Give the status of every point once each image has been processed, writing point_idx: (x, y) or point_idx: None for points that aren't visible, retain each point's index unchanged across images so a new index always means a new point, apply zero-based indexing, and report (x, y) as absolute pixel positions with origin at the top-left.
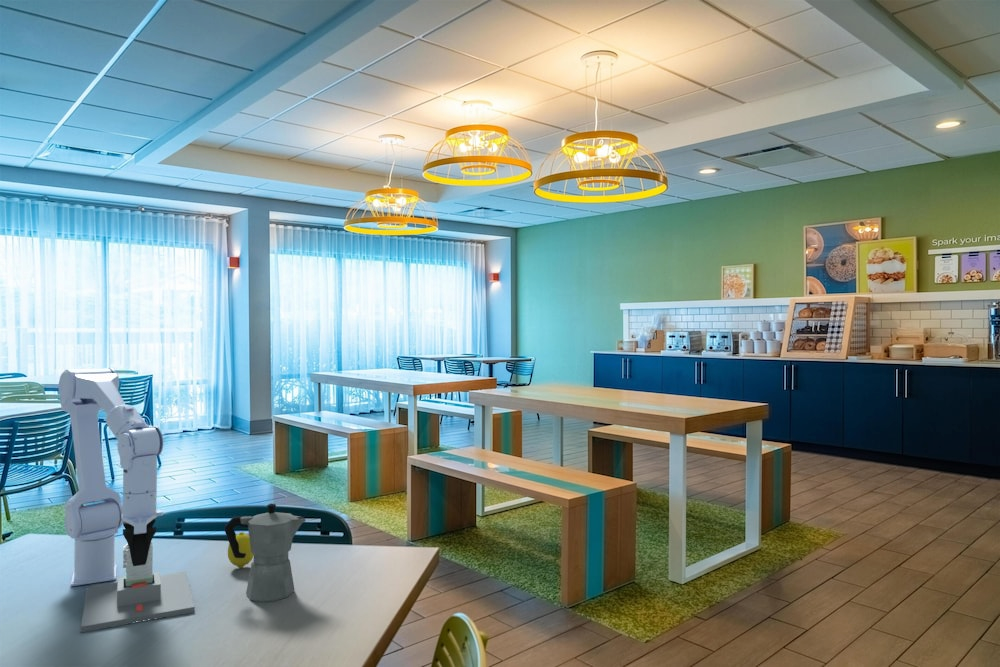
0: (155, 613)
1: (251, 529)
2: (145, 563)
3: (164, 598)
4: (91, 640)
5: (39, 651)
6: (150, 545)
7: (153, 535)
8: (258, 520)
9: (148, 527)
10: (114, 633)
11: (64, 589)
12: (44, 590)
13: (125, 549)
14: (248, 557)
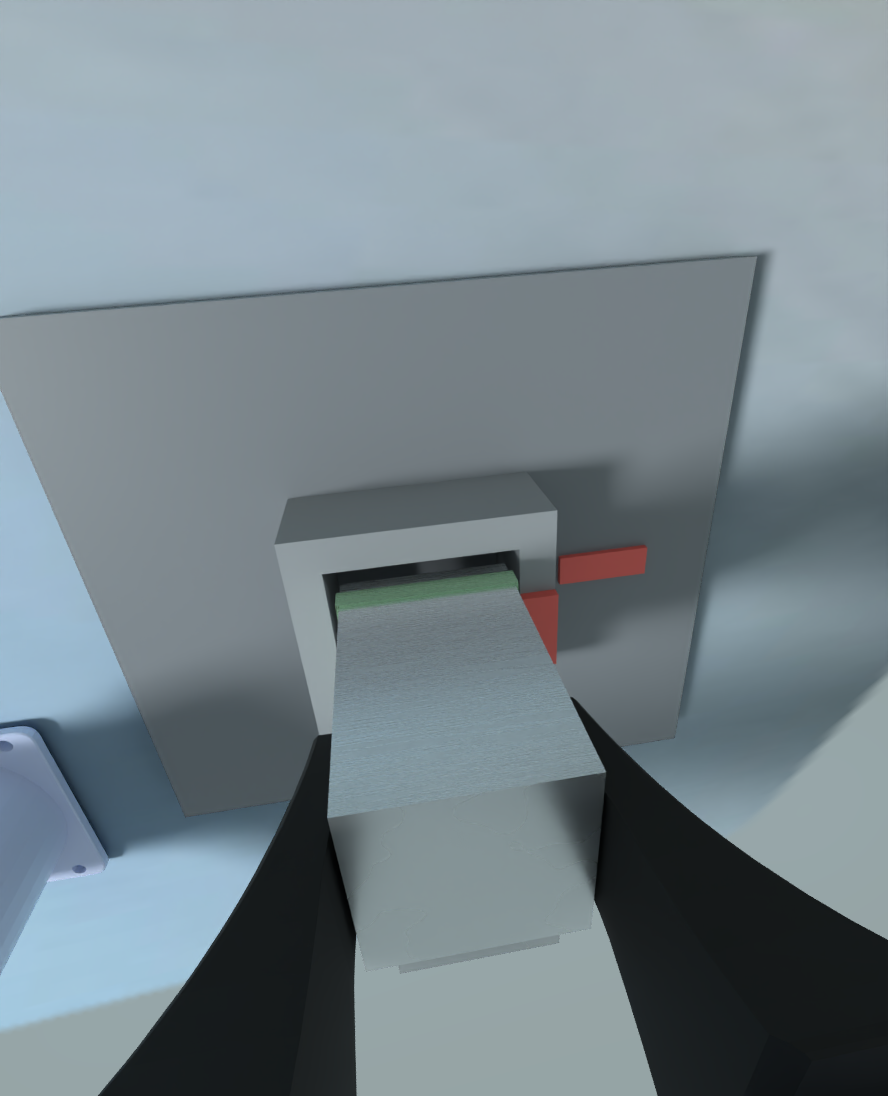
0: (715, 481)
1: None
2: (578, 702)
3: (513, 451)
4: (759, 674)
5: (741, 787)
6: (529, 799)
7: (878, 936)
8: None
9: (313, 1059)
10: (748, 613)
11: (134, 870)
12: (131, 920)
13: (535, 938)
14: None
